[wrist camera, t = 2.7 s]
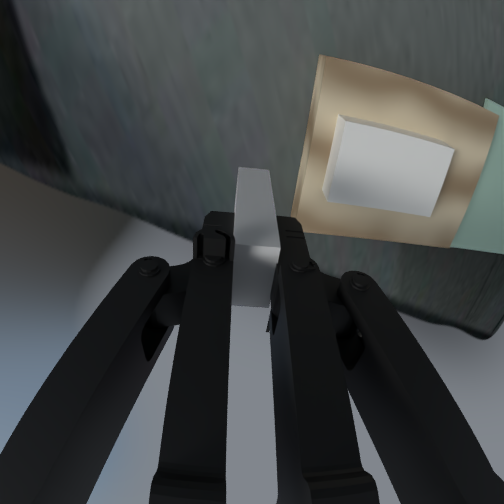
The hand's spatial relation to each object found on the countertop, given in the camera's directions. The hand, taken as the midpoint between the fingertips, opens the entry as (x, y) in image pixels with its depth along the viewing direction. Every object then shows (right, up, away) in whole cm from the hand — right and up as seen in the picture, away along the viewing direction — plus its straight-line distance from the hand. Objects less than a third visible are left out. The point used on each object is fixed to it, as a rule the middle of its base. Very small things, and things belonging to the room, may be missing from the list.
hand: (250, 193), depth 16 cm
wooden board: (+12, +5, +8) cm, 16 cm away
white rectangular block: (+10, +4, +6) cm, 12 cm away
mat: (+27, +4, +9) cm, 29 cm away
